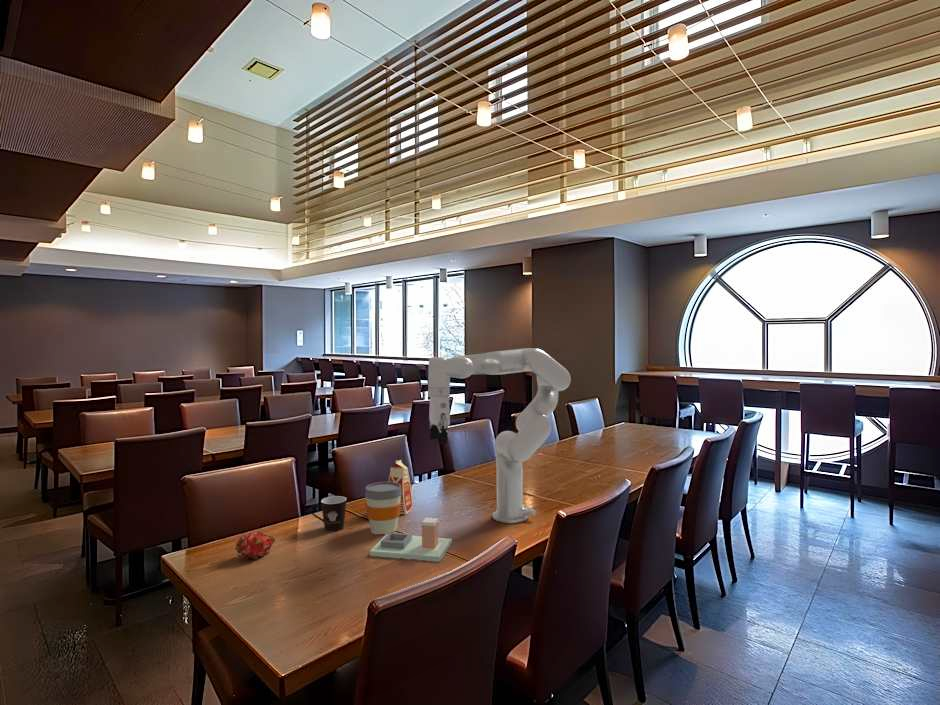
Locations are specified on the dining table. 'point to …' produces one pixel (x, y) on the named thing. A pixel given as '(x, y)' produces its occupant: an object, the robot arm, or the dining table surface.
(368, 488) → the reusable coffee cup
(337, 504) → the coffee mug
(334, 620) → the dining table surface
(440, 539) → the board
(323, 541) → the dining table surface
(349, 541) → the dining table surface
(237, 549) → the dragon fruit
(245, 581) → the dining table surface
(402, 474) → the milk carton
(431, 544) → the tan upright block
